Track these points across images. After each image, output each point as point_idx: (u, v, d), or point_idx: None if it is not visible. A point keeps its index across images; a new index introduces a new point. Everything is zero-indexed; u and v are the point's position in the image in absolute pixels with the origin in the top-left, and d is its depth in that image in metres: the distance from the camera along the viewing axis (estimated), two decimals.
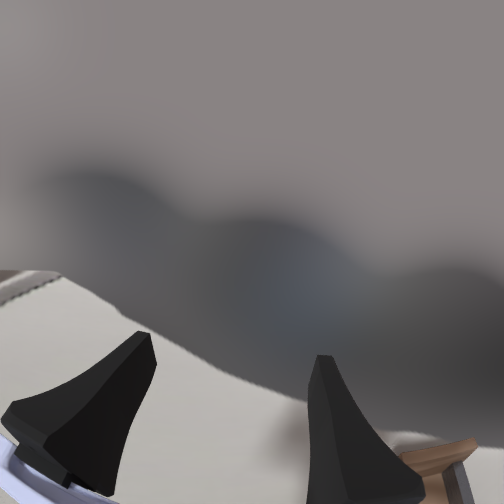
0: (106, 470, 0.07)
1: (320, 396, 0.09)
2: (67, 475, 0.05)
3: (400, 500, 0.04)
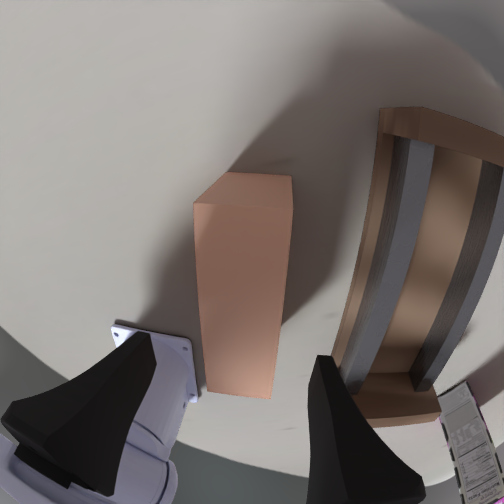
0: (106, 470, 0.07)
1: (320, 396, 0.09)
2: (67, 475, 0.05)
3: (400, 500, 0.04)
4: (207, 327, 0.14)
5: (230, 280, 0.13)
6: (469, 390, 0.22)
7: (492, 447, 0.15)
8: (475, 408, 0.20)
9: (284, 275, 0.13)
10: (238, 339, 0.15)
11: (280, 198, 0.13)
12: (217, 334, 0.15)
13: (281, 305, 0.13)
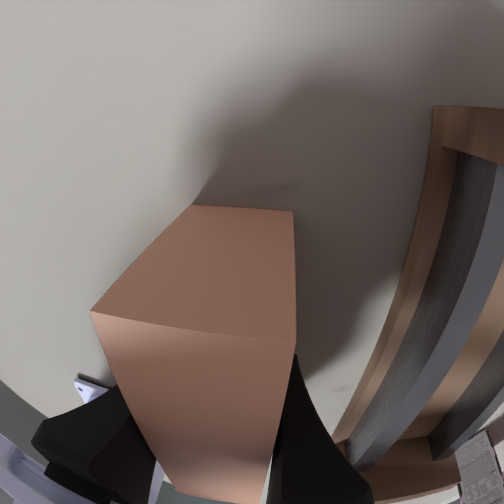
0: (142, 483, 0.07)
1: None
2: (107, 494, 0.05)
3: None
4: (161, 454, 0.08)
5: (181, 422, 0.07)
6: (489, 440, 0.16)
7: None
8: (493, 461, 0.14)
9: (274, 427, 0.06)
10: (207, 469, 0.08)
11: (271, 292, 0.06)
12: (177, 461, 0.08)
13: (269, 452, 0.07)
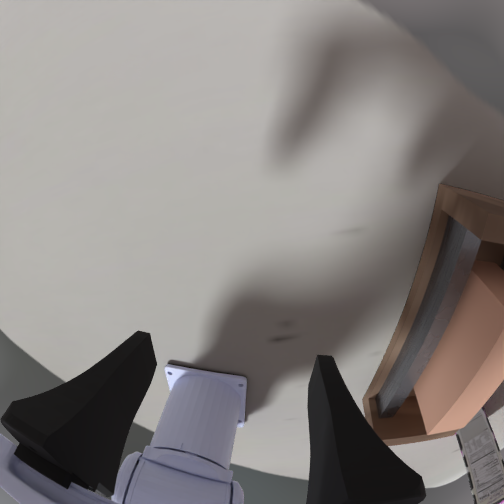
0: (106, 470, 0.07)
1: (320, 396, 0.09)
2: (67, 475, 0.05)
3: (400, 500, 0.04)
4: (466, 391, 0.14)
5: (499, 359, 0.12)
6: None
7: (499, 454, 0.16)
8: (485, 421, 0.21)
9: None
10: (477, 394, 0.14)
11: None
12: (469, 394, 0.14)
13: None
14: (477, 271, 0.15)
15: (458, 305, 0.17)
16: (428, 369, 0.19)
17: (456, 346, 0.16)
